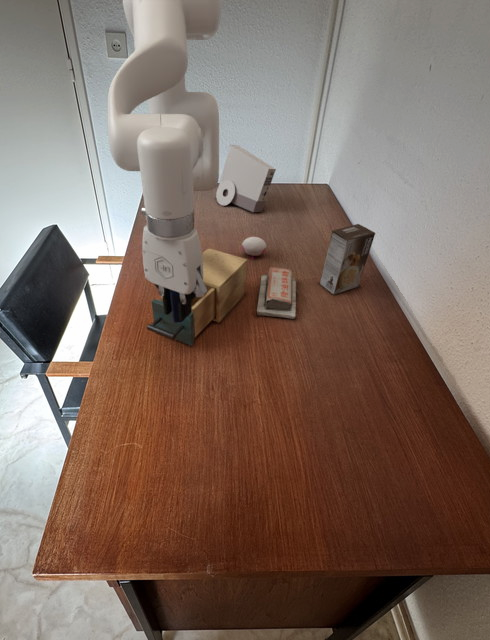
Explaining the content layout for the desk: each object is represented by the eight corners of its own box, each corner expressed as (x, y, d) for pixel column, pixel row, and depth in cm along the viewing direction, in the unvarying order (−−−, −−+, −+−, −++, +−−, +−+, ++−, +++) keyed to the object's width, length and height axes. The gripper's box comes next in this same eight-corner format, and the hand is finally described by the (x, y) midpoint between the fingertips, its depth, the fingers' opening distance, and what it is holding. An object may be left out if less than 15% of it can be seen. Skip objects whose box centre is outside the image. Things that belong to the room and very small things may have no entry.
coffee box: (343, 276, 109) (359, 222, 98) (358, 287, 105) (377, 232, 94) (318, 284, 106) (332, 229, 95) (333, 295, 102) (349, 240, 91)
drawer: (180, 358, 83) (178, 327, 77) (143, 342, 86) (138, 312, 80) (220, 315, 94) (220, 285, 88) (185, 303, 97) (184, 273, 91)
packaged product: (262, 263, 104) (298, 267, 103) (260, 279, 108) (295, 282, 107) (257, 300, 92) (298, 304, 91) (255, 316, 95) (294, 320, 94)
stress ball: (263, 262, 121) (266, 240, 120) (264, 259, 113) (268, 236, 112) (240, 259, 121) (243, 238, 120) (240, 256, 113) (243, 233, 112)
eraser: (184, 322, 73) (182, 293, 68) (172, 323, 72) (170, 293, 67) (183, 315, 74) (181, 286, 69) (172, 316, 74) (169, 287, 69)
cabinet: (218, 322, 93) (219, 286, 86) (180, 308, 97) (177, 273, 90) (244, 294, 102) (247, 259, 95) (208, 282, 106) (208, 248, 98)
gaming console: (210, 200, 148) (218, 142, 136) (223, 199, 152) (232, 143, 140) (252, 218, 136) (265, 157, 124) (265, 217, 141) (279, 157, 128)
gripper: (115, 218, 59) (132, 310, 73) (201, 243, 54) (203, 338, 67) (144, 201, 64) (155, 291, 77) (226, 223, 58) (223, 316, 72)
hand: (177, 312), depth 72 cm, fingers closed on eraser, 2 cm apart
